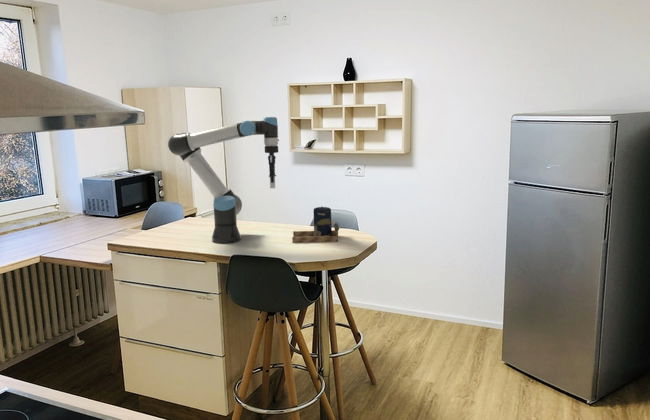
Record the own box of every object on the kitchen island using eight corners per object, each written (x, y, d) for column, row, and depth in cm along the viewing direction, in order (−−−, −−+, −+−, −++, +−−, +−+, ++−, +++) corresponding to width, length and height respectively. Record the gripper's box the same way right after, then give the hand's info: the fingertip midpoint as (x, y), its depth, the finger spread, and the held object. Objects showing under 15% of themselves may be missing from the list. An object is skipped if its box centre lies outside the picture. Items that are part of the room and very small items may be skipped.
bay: (292, 242, 274) (292, 227, 273) (293, 236, 290) (293, 221, 288) (339, 241, 275) (339, 226, 274) (337, 235, 290) (337, 220, 289)
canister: (332, 237, 287) (332, 204, 284) (330, 241, 277) (330, 207, 274) (315, 237, 288) (314, 204, 285) (312, 240, 278) (312, 207, 275)
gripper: (277, 145, 281) (278, 189, 285) (278, 144, 294) (280, 186, 298) (263, 146, 281) (265, 189, 285) (265, 145, 294) (266, 186, 297)
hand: (272, 188), depth 291 cm, fingers closed
